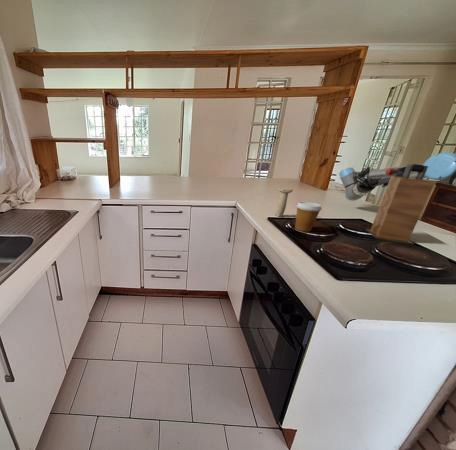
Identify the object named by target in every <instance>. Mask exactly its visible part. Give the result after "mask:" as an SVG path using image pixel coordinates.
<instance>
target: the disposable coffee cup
mask: <svg viewBox="0 0 456 450" xmlns="http://www.w3.org/2000/svg"><path fill="white" fill-rule="evenodd" d="M321 210H322V204H318V203H315V202H309V201H298V203H297V204H296V216H295V225H294V229H295V230H297V231H301V232H307V233H308V232H311V231H312V228H313V226H314V225H315V222H316V220H317V218H318V216H319V213H320V211H321Z"/></svg>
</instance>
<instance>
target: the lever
mask: <svg viewBox="0 0 456 450" xmlns="http://www.w3.org/2000/svg"><path fill="white" fill-rule="evenodd" d="M421 164H422V163H412V164H411V165H414V166H413V168H412V171H411V172H421V171H422V169H423V165H421ZM400 167H401V166H400ZM388 168H389V169H387V170H386V172H385V173H386V175H388V176H393V175H394V174H399V173H404V171H405V169H406V167H401V168H395V169H394V168H393V167H388Z"/></svg>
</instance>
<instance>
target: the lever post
mask: <svg viewBox="0 0 456 450" xmlns="http://www.w3.org/2000/svg"><path fill="white" fill-rule="evenodd" d="M405 166H406V169H405V171H404V174H403V176H402V177H398V176H391V178H390V180H389V183H388V186H386V187H385V188H386V189H385V191H384V193H383V197H382V199H381V202H380V204H379V206H378V209H377V212H376V214H375V217H374V219H373V222H372V225H371V227H370V228H365V231H366V232H367V233H368V234H369V235H371V236H372V237H373V238H374V239H376V240H381V241H388V242H394V243H401V244H407V245H413V246H414V245H415V242H413V241H412V240H410V239H411V236H412V235H413V232H414V230H415V228H416V226H417V223H418V221H419V219H420V217H421V214H422V212H423V210H424V208H425V206H426V203H427V201H428V198H429V196H430V194H431V192H432V190H433V188H434V185H435V183H436V180H434V179H429V178H423V177H424V175H425V173H426V170H427V168H428V166H423V169H422V171H421V172H418V174H417V176H416V178H411V177H409V176H410V173H411V171H412V168H413V166H414V165H412V164H406V165H405Z"/></svg>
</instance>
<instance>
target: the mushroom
mask: <svg viewBox="0 0 456 450" xmlns="http://www.w3.org/2000/svg"><path fill="white" fill-rule="evenodd" d="M278 191H279V192H280V195H279V199H278V202H277V206H276V213H275V216H276V217H279V218H282V217H284V213H285V211H286V208H287V202H288V196H289V194H290V193H293V188H289V187H278Z"/></svg>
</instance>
